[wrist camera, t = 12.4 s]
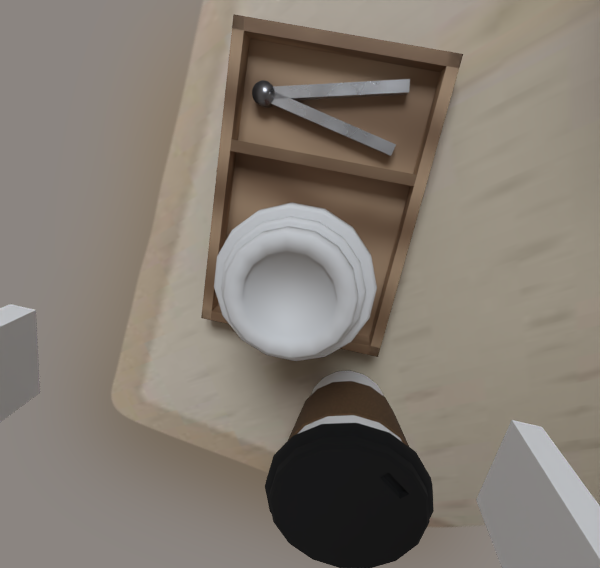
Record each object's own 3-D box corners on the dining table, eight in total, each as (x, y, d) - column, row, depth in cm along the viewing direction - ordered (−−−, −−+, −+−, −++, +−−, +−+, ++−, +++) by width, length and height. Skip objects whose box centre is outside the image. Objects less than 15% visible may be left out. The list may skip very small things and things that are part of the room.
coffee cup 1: (368, 189, 29) (383, 205, 17) (365, 302, 31) (376, 380, 20) (251, 191, 30) (192, 208, 18) (258, 300, 32) (210, 374, 21)
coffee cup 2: (356, 322, 33) (361, 407, 21) (432, 409, 34) (475, 531, 23) (265, 388, 36) (227, 494, 24) (339, 465, 37) (336, 597, 26)
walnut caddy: (242, 26, 27) (233, 14, 25) (453, 63, 26) (463, 54, 24) (210, 308, 34) (201, 317, 32) (375, 344, 33) (377, 356, 31)
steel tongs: (251, 129, 28) (247, 128, 27) (260, 55, 27) (257, 51, 26) (391, 156, 28) (393, 156, 27) (409, 82, 26) (412, 79, 25)
